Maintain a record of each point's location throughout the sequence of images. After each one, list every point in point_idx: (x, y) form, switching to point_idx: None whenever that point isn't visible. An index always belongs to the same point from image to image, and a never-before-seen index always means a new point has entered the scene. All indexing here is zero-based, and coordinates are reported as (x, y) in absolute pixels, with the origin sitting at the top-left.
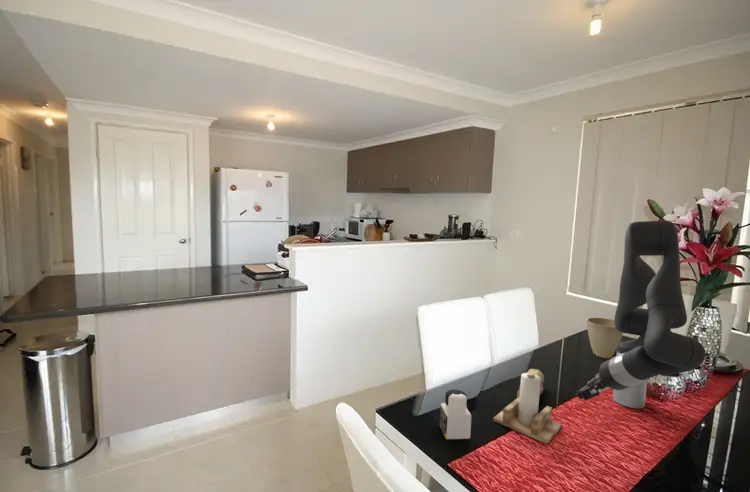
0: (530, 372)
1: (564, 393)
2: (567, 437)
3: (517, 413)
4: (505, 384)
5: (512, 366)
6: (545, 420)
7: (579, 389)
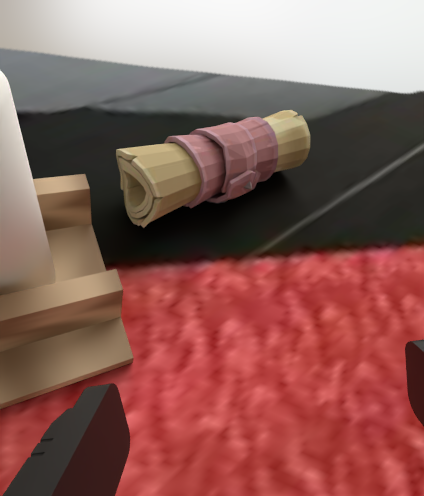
0: (270, 117)
1: (335, 225)
2: None
3: None
4: (195, 124)
5: (292, 95)
6: (33, 329)
7: (91, 421)
